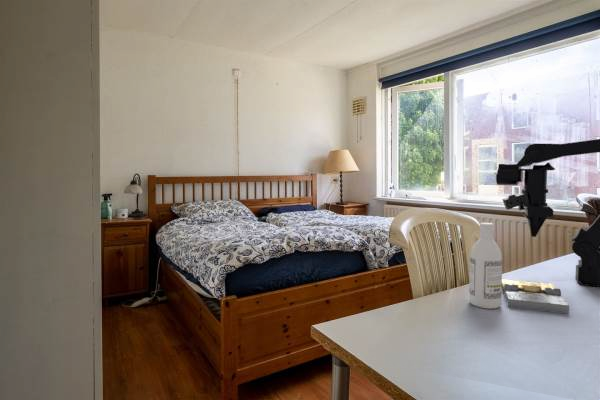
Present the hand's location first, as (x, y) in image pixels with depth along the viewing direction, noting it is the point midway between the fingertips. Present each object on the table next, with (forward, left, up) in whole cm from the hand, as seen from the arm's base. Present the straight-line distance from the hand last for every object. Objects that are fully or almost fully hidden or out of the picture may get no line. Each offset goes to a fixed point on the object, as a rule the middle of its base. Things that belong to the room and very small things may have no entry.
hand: (533, 236), depth 112 cm
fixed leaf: (+4, +27, -12) cm, 30 cm away
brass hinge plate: (+4, +20, -12) cm, 23 cm away
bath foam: (+15, +32, -12) cm, 37 cm away
